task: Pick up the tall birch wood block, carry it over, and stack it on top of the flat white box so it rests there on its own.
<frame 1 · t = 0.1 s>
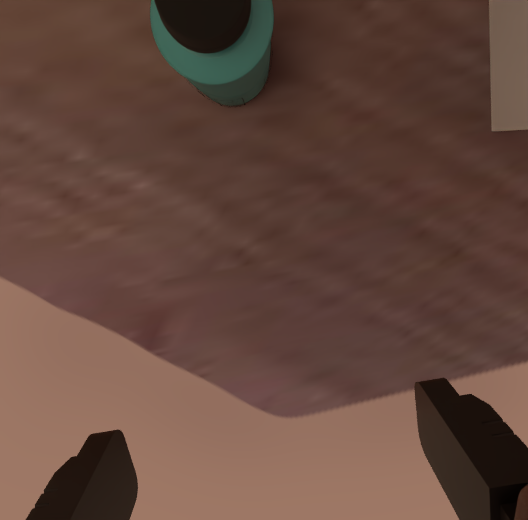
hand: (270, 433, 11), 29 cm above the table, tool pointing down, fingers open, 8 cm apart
beverage bottle: (232, 70, 36), on the table
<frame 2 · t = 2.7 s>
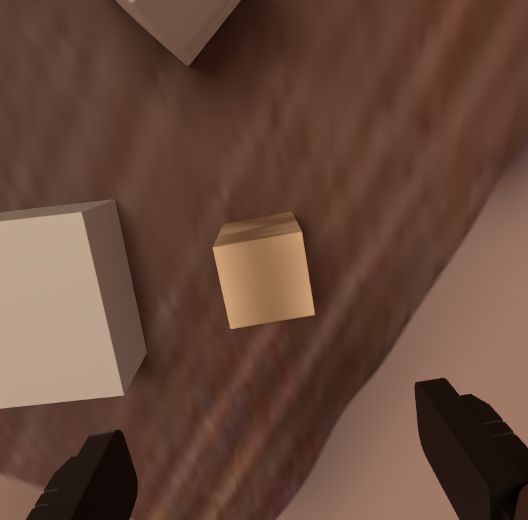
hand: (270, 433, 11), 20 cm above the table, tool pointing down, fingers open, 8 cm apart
flat white box: (53, 287, 31), on the table
birch block: (263, 251, 30), on the table
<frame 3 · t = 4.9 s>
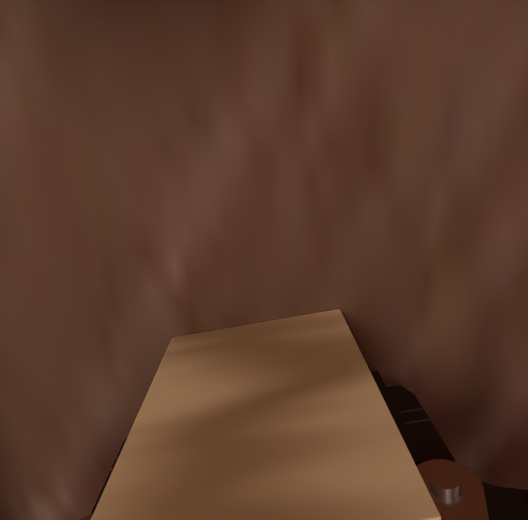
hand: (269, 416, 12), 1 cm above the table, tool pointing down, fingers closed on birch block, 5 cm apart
birch block: (269, 396, 13), on the table, touching gripper
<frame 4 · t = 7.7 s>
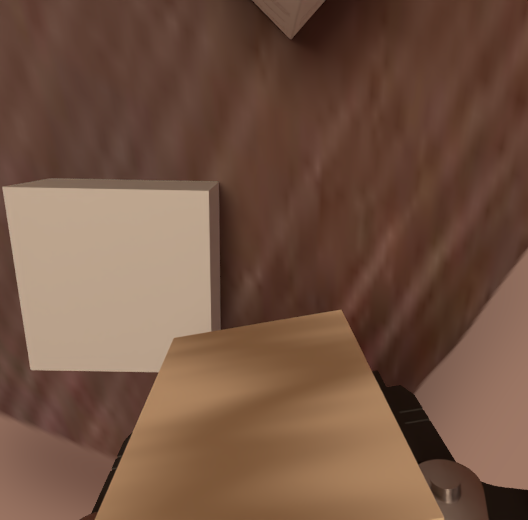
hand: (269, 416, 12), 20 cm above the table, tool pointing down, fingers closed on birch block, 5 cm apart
flat white box: (141, 259, 32), on the table
birch block: (271, 396, 13), point 19 cm above the table, touching gripper
when the fingers open (8 cm above the table, at t = 10.8 s): birch block drops 2 cm, resting on flat white box.
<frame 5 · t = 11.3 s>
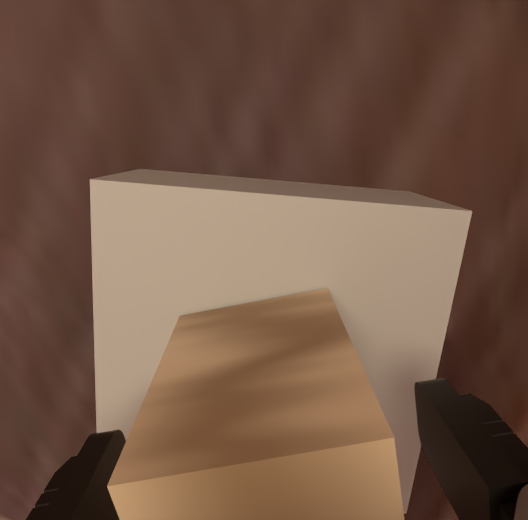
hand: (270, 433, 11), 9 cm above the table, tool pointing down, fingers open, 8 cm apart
flat white box: (265, 303, 20), on the table, touching birch block
birch block: (267, 367, 15), point 6 cm above the table, touching flat white box
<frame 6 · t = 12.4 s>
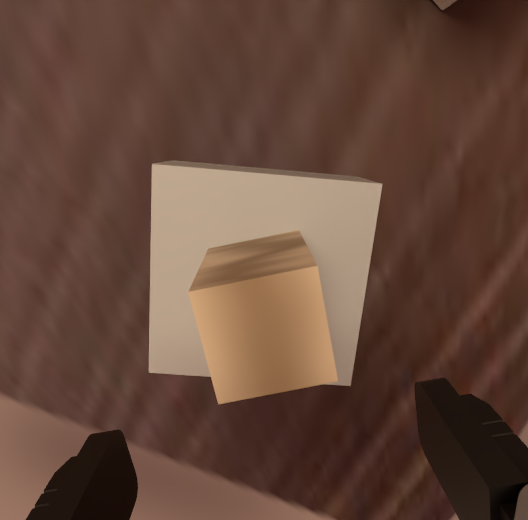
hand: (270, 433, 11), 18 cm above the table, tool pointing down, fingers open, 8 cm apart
flat white box: (258, 256, 29), on the table, touching birch block
birch block: (262, 282, 23), point 6 cm above the table, touching flat white box
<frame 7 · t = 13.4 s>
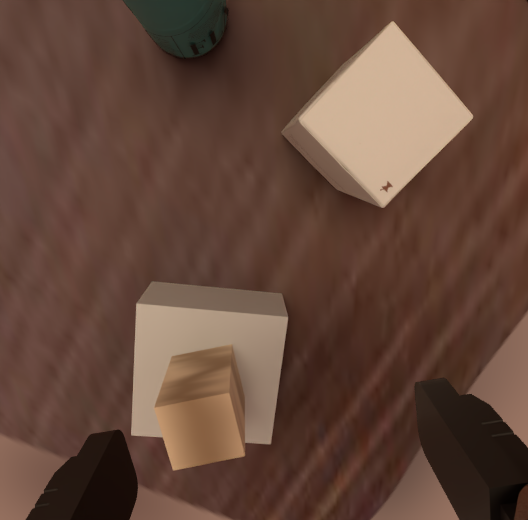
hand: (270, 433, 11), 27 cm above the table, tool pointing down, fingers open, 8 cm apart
flat white box: (212, 345, 40), on the table
supplement box: (338, 130, 36), on the table
beverage bottle: (188, 19, 33), on the table
birch block: (208, 377, 34), point 6 cm above the table
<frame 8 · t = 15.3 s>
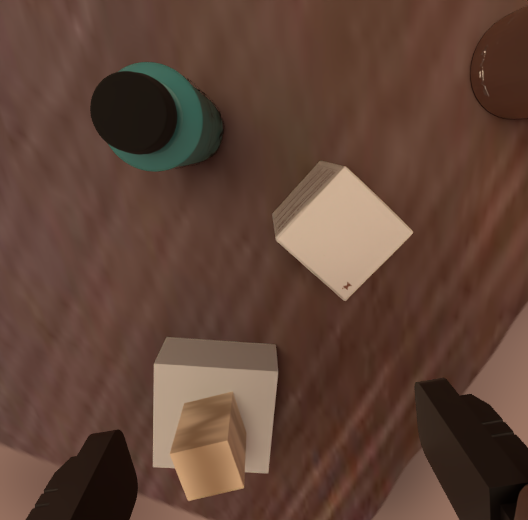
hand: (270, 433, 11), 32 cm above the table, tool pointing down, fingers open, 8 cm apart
flat white box: (218, 387, 48), on the table, touching birch block
supplement box: (320, 210, 42), on the table
beverage bottle: (192, 128, 40), on the table
birch block: (215, 418, 42), point 6 cm above the table, touching flat white box
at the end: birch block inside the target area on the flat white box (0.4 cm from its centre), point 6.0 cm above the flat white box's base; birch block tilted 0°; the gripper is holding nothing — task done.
